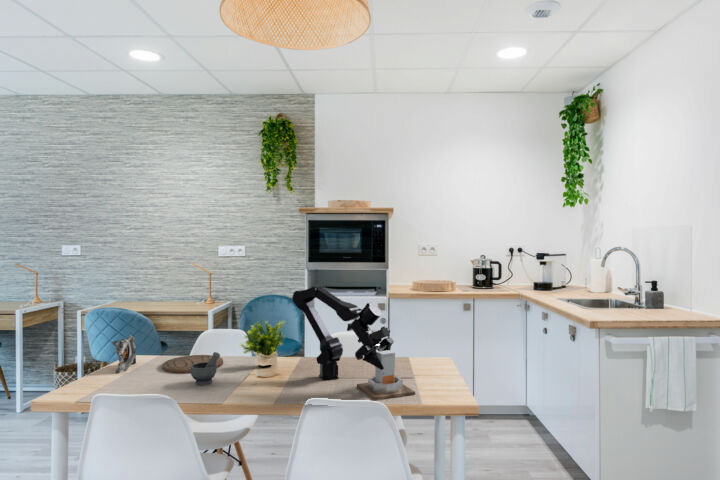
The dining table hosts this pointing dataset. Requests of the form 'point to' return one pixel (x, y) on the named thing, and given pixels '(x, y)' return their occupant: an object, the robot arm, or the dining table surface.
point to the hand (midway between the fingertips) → (388, 367)
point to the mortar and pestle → (205, 371)
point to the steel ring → (385, 385)
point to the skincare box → (385, 367)
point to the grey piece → (125, 353)
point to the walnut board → (378, 396)
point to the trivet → (187, 363)
